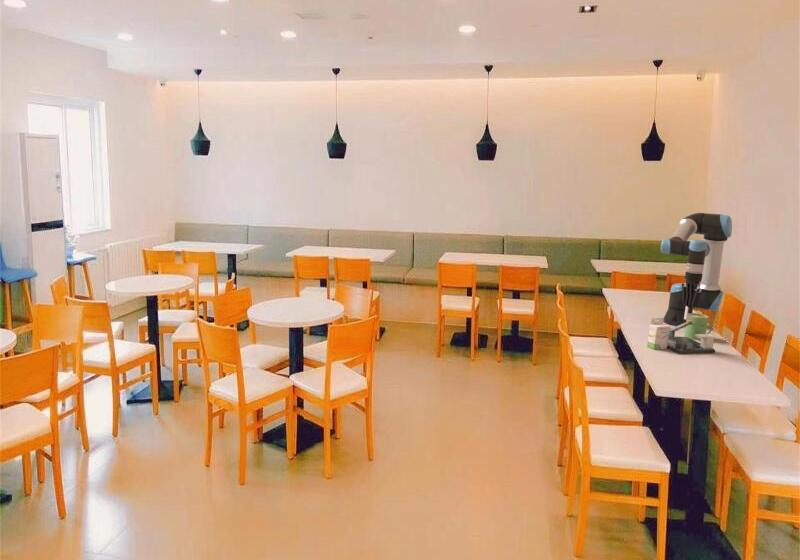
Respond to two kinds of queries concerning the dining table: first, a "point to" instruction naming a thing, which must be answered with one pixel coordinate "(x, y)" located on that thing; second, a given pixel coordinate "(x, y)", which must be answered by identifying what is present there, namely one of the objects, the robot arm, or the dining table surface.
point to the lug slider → (706, 340)
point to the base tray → (681, 351)
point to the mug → (697, 326)
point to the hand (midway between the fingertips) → (687, 319)
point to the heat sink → (677, 341)
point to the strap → (680, 326)
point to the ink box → (658, 334)
